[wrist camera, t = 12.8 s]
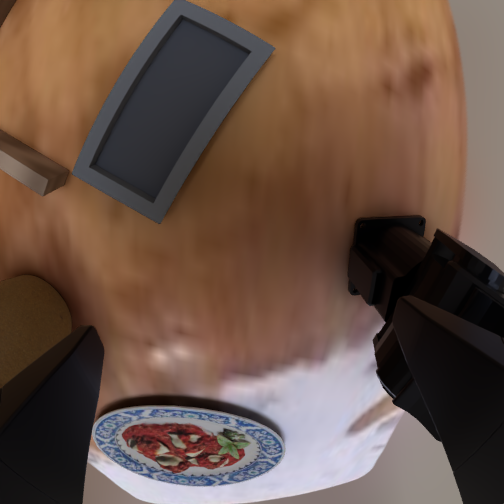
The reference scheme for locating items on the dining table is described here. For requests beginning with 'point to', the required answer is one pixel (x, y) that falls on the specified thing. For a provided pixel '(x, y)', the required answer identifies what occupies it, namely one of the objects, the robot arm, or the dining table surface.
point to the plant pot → (29, 322)
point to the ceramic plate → (188, 444)
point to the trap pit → (168, 107)
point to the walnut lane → (28, 153)
